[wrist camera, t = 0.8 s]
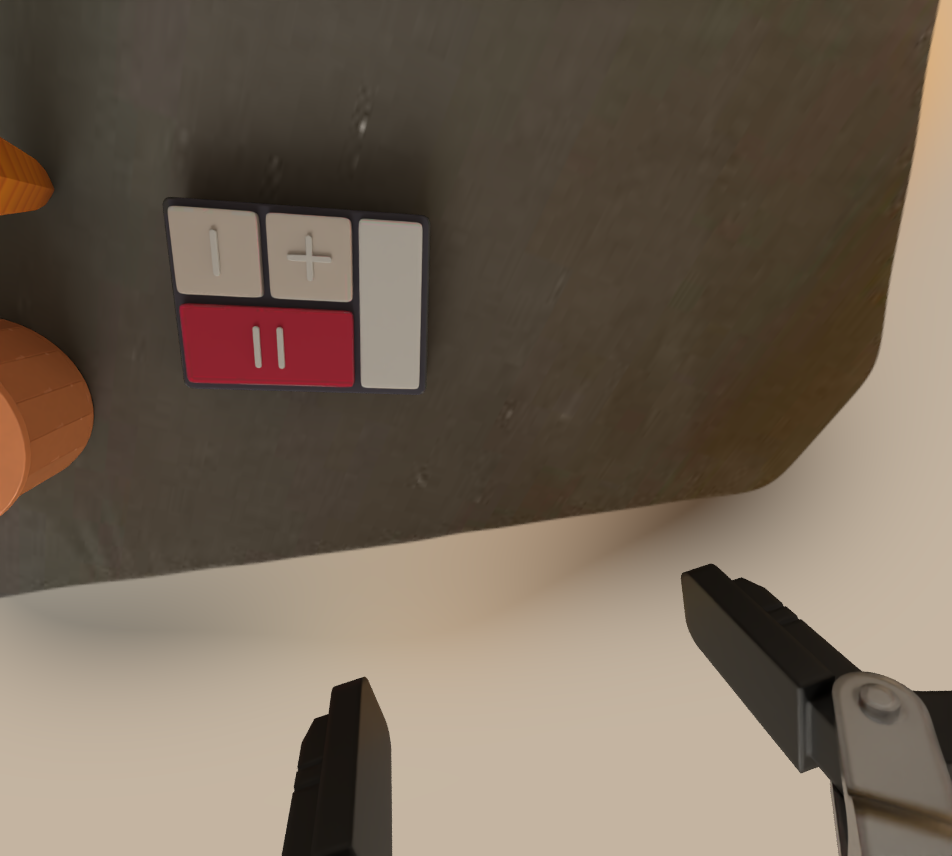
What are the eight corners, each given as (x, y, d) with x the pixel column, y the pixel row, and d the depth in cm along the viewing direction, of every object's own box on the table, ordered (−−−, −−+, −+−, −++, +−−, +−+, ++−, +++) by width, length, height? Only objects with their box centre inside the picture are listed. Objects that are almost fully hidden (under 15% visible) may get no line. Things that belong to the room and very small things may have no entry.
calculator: (153, 193, 27) (431, 213, 28) (188, 204, 31) (429, 221, 32) (178, 391, 30) (426, 398, 32) (207, 377, 34) (425, 384, 36)
